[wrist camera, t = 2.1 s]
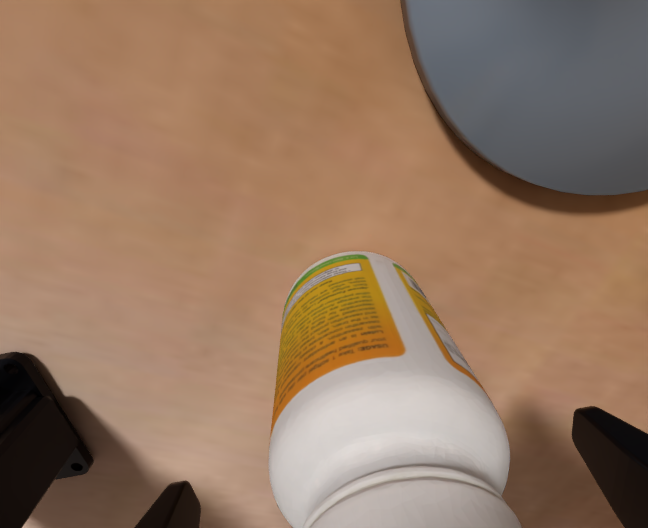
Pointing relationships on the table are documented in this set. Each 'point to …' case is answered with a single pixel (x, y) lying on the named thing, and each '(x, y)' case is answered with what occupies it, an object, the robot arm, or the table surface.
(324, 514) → the supplement bottle
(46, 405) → the robot arm
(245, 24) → the table surface
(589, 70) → the slate dish
